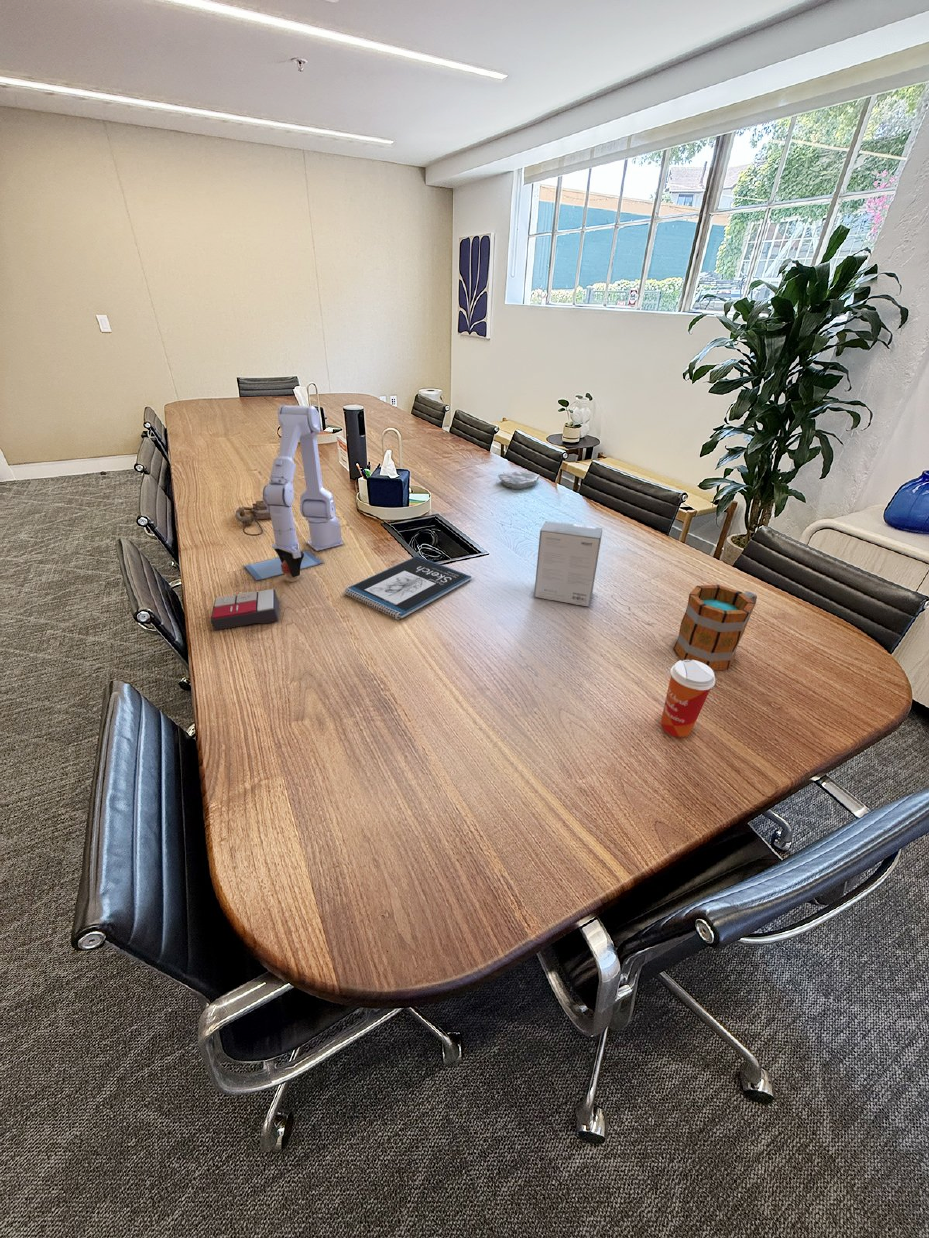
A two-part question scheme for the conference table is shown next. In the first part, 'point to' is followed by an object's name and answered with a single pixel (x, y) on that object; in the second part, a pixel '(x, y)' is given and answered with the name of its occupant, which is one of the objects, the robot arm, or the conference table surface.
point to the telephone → (259, 512)
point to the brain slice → (518, 479)
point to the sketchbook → (407, 586)
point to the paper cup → (686, 696)
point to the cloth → (278, 566)
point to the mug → (714, 625)
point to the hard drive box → (567, 562)
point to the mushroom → (288, 572)
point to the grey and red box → (245, 609)
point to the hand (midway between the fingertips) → (291, 572)
